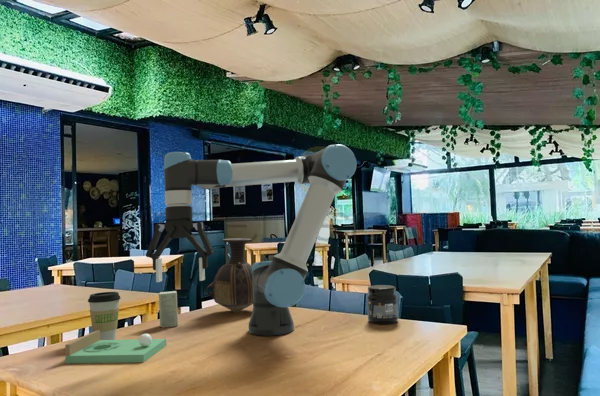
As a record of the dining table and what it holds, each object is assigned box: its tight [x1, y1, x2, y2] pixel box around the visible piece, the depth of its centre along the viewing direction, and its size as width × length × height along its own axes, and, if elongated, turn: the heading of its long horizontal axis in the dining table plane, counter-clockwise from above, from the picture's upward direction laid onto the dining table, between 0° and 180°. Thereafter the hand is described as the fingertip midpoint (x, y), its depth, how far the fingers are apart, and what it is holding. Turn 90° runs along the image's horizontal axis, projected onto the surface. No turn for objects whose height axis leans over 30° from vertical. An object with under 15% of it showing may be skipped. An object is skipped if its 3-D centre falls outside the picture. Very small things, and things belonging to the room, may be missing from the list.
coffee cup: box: [87, 291, 122, 340], centre depth 145 cm, size 10×10×15 cm
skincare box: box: [158, 290, 179, 328], centre depth 163 cm, size 6×4×12 cm
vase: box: [206, 237, 253, 314], centre depth 183 cm, size 23×19×30 cm
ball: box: [138, 333, 153, 347], centre depth 129 cm, size 4×4×4 cm
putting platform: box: [64, 330, 167, 364], centre depth 129 cm, size 22×16×5 cm
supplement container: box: [366, 284, 399, 325], centre depth 157 cm, size 10×10×12 cm
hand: (180, 281), depth 129 cm, fingers open, 12 cm apart
